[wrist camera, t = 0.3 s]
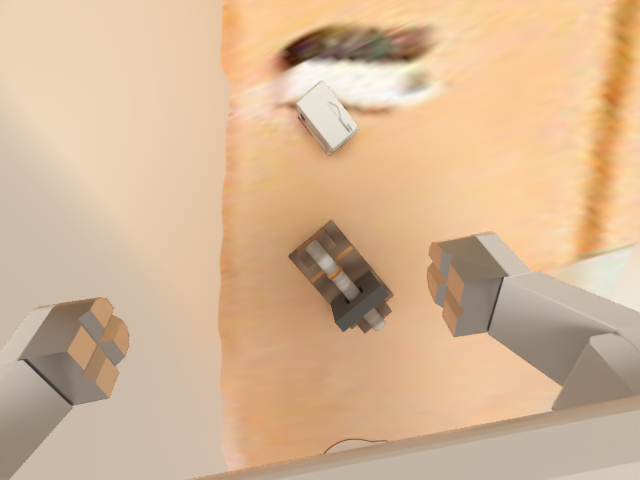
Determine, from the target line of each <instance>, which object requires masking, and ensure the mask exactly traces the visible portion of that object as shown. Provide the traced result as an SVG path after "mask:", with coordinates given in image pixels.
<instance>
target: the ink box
mask: <svg viewBox="0 0 640 480" xmlns="http://www.w3.org/2000/svg"><path fill="white" fill-rule="evenodd" d="M296 105H297V112H298V119H299V120H300V121H301V122H302V124H303V125H304V126H305V127H306V129H307V130H308V131H309V132H310V134H311V135H312V136H313V137H314V139H315V140H316V141H317V142H318V144H319V145H320V146H321V147H322V149H323V150H324V151H325V152H326V154H327V155H328V156H330V155H331V154H332V153H333V152H335V151H336V150H337V149H338V148H340V147H341V146H342V145H343V144H344V143H346V142H347V141H348V140H349V139H350V138H351V137H353V136H354V135H355V134H356V133H357V132H358V131H359V127H358V126H357V123H356V122H355V121H354V120H353V119H352V117H351V116H350V114H349V113H348V112H347V111H346V110H345V108H344V107H343V105H342V104H341V103H340V101H339V100H338V99H337V98H336V97H335V95H334V94H333V92H332V91H331V90H330V89H329V88H328V86H327V85H326V83H324V81H320V82H319V83H318V84H316V85H315V86H314V87H313V88H312V89H311V90H310V91H308V92H307V93H306V94H305V95H304V96H303V97H302V98H300V99H299V100H298V101H297V102H296Z"/></svg>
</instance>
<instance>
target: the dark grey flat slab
mask: <svg viewBox="0 0 640 480" xmlns="http://www.w3.org/2000/svg"><path fill="white" fill-rule="evenodd" d="M354 284H355V286H356V287H357V288H358V289H359V290H360V292H361V294H360V295H359V296H357V297H356V298H355V299H354V300H353V301H351V302H350V301H349V300H348V299H347V298H346V296H345V295H344V294H343V293H342V294H341V295H340V296H338V297H337V298H336V299H335V300H333V301H332V302H331V307H332V311H333V315H334V320H335V323H336V324H337V325H338V326H339V328H340V329H341V330H342V331H343V332H344V331H345V330H347V329H348V328H349V327H350V326H352V325H353V324H354V323H355V322H357V321H358V320H359V319H360V318H362V317H363V316H364V315H365V314H367V313H368V312H369V311H370V310H371V309H373V308H374V307H375V306H376V305H378V304H379V303H380V302H381V301H383V300H384V299H385V298H386V297H388V296H389V294H388V293H387V292H386V290H385V289H384V288H383V286H382V285H381V284H380V283H379V281H378V280H377V279H376V278H375V276H374V275H373V274H372V273H371V272H370V271H369V272H368V273H367V274H365V275H364V276H363V277H362V278H361V279H359V280H358V281H357V282H356V283H354Z"/></svg>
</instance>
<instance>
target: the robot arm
mask: <svg viewBox="0 0 640 480" xmlns="http://www.w3.org/2000/svg"><path fill="white" fill-rule="evenodd" d="M429 256H430V258H431V259H432V261H433V262H432V264H431V265H430V266H429V267H428V269H427V281H428V288H429V291H430V294H431V296H432V298H433V300H434V302H435V303H436V304H438V305H439V306H441V307H443V314H442V317H443V319H444V320H445V322H446V324H447V326H448V328H449V330H450V331H451V333H452V335H453V337H458V336H465V335H472V334H478V333H485V332H488V334H489V335H490V336H492V337H493V338H494V339H496V340H497V341H499V342H500V343H501V344H503V345H504V346H506V347H507V348H508V349H510V350H511V351H513V352H514V353H516V354H517V355H518V356H520V357H521V358H523V359H524V360H525V361H527V362H528V363H530V364H531V365H532V366H534V367H535V368H537V369H538V370H539V371H541V372H542V373H544V374H545V375H546V376H548V377H549V378H551V379H552V380H553V381H555V382H556V383H558V384H559V385H560V386H562V388H561V390H560V392H559V394H558V395H557V397H556V399H555V401H554V403H553V406H552V408H551V409H552V410H553V411H551V412H545V413H540V414H535V415H529V416H524V417H519V418H513V419H508V420H503V421H497V422H492V423H487V424H481V425H476V426H471V427H465V428H460V429H455V430H449V431H444V432H439V433H433V434H428V435H423V436H417V437H412V438H407V439H401V440H396V441H391V442H387V441H379V442H368V441H364V440H347V441H343V442H340V443H338V444H336V445H334V446H333V447H331V448H330V449H329V450H328V451H327V452H326V453H325V454H321V455H316V456H310V457H305V458H300V459H294V460H289V461H284V462H278V463H273V464H268V465H262V466H257V467H252V468H246V469H241V470H236V471H230V472H225V473H220V474H215V475H209V476H204V477H199V478H194V479H188V480H640V313H639V312H637V311H635V310H632V309H630V308H627V307H625V306H622V305H620V304H617V303H615V302H612V301H610V300H608V299H605V298H603V297H600V296H598V295H595V294H593V293H591V292H588V291H586V290H583V289H581V288H578V287H576V286H573V285H571V284H569V283H566V282H564V281H561V280H559V279H556V278H554V277H551V276H549V275H547V274H544V273H542V272H532V271H531V270H530V269H529V268H528V267H527V266H526V265H525V264H524V263H523V262H522V261H521V260H520V259H519V257H518V256H517V255H516V254H515V253H514V252H513V251H512V250H511V249H510V248H509V247H508V246H507V245H506V244H505V243H504V242H503V241H502V240H501V239H500V238H499V237H498V235H497V234H495V233H493V232H491V231H490V232H485V233H479V234H474V235H471V236H465V237H460V238H454V239H448V240H442V241H436V242H432V243H431V246H430V250H429ZM113 310H114V307H113V306H112V304H111V303H110V302H109V300H108V299H107V298H101V297H100V298H93V299H86V300H79V301H72V302H66V303H60V304H53V305H47V306H40V307H37V308H36V309H34V310H32V311H31V312H30V313H29V314H28V316H27V317H26V319H25V320H24V321H23V323H22V324H21V325H20V327H19V328H18V329H17V331H16V332H15V333H14V335H13V336H12V337H11V339H10V340H9V342H8V343H7V345H6V346H5V347H4V348H3V350H2V351H1V352H0V480H9V479H10V478H11V477H12V476H13V475H14V473H15V472H16V471H17V470H18V469H19V468H20V467H21V466H22V464H23V463H24V462H25V461H26V460H27V459H28V458H29V456H30V455H31V454H32V453H33V452H34V451H35V450H36V449H37V448H38V446H39V445H40V444H41V443H42V442H43V441H44V439H45V438H46V437H47V436H48V435H49V434H50V433H51V432H52V431H53V429H54V428H55V427H56V426H57V425H58V424H59V423H60V422H61V420H62V419H63V418H64V417H65V416H66V415H67V414H68V413H69V411H70V410H71V409H72V406H74V405H79V404H84V403H88V402H93V401H98V400H103V399H108V398H110V395H111V392H112V390H113V387H114V385H115V382H116V380H117V377H118V375H119V371H118V369H117V367H116V365H117V364H118V363H119V362H120V361H121V360H122V359H123V358H124V357H125V356H126V353H127V351H128V348H129V332H128V329H127V326H126V325H125V323H124V322H123V320H122V319H120V318H118V317H116V316H114V315H112V313H113Z"/></svg>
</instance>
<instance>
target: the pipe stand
mask: <svg viewBox="0 0 640 480" xmlns="http://www.w3.org/2000/svg"><path fill="white" fill-rule="evenodd" d="M289 258H290V259H291V260H292V261H293V262H294V264H295V265H296V266H297V267H298V268H299V269H300V270H301V272H302V273H303V274H304V275H305V276H306V277H307V278H308V280H309V281H310V282H311V283H312V284H313V285H314V286H315V288H316V289H317V290H318V291H319V292H320V293H321V294H322V296H323V297H324V298H325V299H326V300H327V301H328V303H329V304H330V305H331V302H332V301H333V300H335V299H336V298H337V297H338V296H340V295H341V294H342V293H343V294H344V295H345V296H346V298H347V299H348V300H349V301H350V302H351V301H353V300H354V299H355V298H356V297H357V296H359V295H360V294H361V292H360V290H359V289H358V288H357V287H356V286H355V284H354V283H356V282H357V281H358V280H359V279H361V278H362V277H363V276H364V275H365V274H367V273H368V272H369V271H370V272H371V273H372V274H373V275H374V276H375V278H376V279H377V280H378V281H379V283H380V284H381V285H382V286H383V288H384V289H385V290H386V292H387V293H388V294H389V296H388V297H386V298H385V299H384V300H383V301H381V302H380V303H379V304H378V305H376V306H375V307H374V308H373V309H371V310H370V311H369V312H368V313H367V314H365V315H364V316H363V317H362V318H360V319H359V320H358V321H357V322H355V323H354V324H353V325H352V326H350V328H351V329H353V328H354V327H355V326H357V325H358V326H359V327H360V329H361V330H362V331H363V332H364V333H366V332H367V331H369V330H370V329H371V328H373V329H374V330H375V331H378V330H380V329H381V328H382V327H383V326H384V325H385V323H386V321H385V320H384V318H385V317H386V316H387V315H389V314H390V313H391V312H392V311H391V309H390V308H389V306H388V305H387V304H386V301H388V300H389V299H390V298H391V297H393V296H394V295H393V294H392V292H391V291H390V290H389V289H388V288H387V286H386V285H385V284H384V283H383V282H382V280H381V279H380V278H379V277H378V276H377V274H376V273H375V272H374V271H373V270H372V268H371V267H370V266H369V265H368V264H367V262H366V261H365V260H364V259H363V258H362V256H361V255H360V254H359V253H358V252H357V250H356V249H355V248H354V247H353V245H352V244H351V243H350V242H349V241H348V239H347V238H346V237H345V236H344V235H343V233H342V232H341V231H340V230H339V229H338V227H337V226H336V225H335V224H334V223H333V221H332V220H331V221H330V222H328V223H327V224H326V225H325V226H324V227H322V228H321V229H320V230H319V231H318V232H316V233H315V234H314V235H313V236H312V237H310V238H309V239H308V240H307V241H306V242H304V243H303V244H302V245H301V246H300V247H298V248H297V249H296V250H295V251H294V252H292V253H291V254H290V255H289Z"/></svg>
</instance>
